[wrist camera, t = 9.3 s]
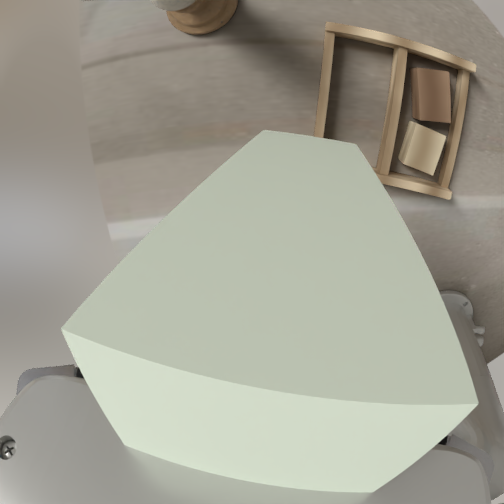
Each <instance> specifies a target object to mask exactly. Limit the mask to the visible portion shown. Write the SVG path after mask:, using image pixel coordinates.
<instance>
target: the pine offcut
mask: <svg viewBox="0 0 504 504" xmlns="http://www.w3.org/2000/svg"><path fill="white" fill-rule="evenodd" d="M445 139H446V136H444V135H442V134H440V133H438V132H436V131H433V130H431V129H429V128H427V127H424V126H422V125H420V124H417V123H415V122H412V121H410V120H409V124H408V127H407V130H406V134H405V137H404V140H403V143H402V147H401V150H400V153H399V156H398V159H399V160H400V161H401V162H402V163H403V164H405V165H407V166H410V167H413V168H415V169H418V170H420V171H423V172H425V173H428V174H430V175H433V174H434V172H435V169H436V166H437V163H438V160H439V157H440V154H441V151H442V148H443V145H444V142H445Z"/></svg>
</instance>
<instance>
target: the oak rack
mask: <svg viewBox="0 0 504 504" xmlns="http://www.w3.org/2000/svg"><path fill="white" fill-rule="evenodd" d="M335 36H337V37H343V38H349V39H354V40H359V41H364V42H368V43H373V44H377V45H381V46H385V47H389V48H393V49H394V51H393V61H392V70H391V79H390V87H389V95H388V102H387V109H386V115H385V121H384V128H383V133H382V139H381V145H380V150H379V155H378V161H377V166H376V168H374V167H372V169H373V170H374V172H375V173H376V175H377V177H378V178H379V180H380V181H381V183H382V184H386V185H391V186H395V187H399V188H404V189H408V190H412V191H417V192H421V193H425V194H429V195H433V196H437V197H441V198H444V199H448V200H450V199H451V195H452V192H451V191H450V190H449V189H448V186H449V182H450V178H451V175H452V171H453V167H454V163H455V158H456V154H457V149H458V145H459V140H460V135H461V130H462V125H463V119H464V113H465V107H466V100H467V93H468V85H469V77H470V72H476V64H474V63H471V62H469V61H467V60H464V59H462V58H460V57H457V56H454V55H452V54H449V53H447V52H444V51H441V50H439V49H436V48H433V47H430V46H427V45H424V44H421V43H418V42H414V41H411V40H408V39H404V38H401V37H397V36H394V35H390V34H386V33H382V32H378V31H373V30H369V29H364V28H360V27H355V26H349V25H344V24H338V23H332V22H326V27H325V38H324V49H323V59H322V69H321V79H320V88H319V97H318V106H317V114H316V122H315V130H314V137H319V138H323V135H324V128H325V120H326V112H327V104H328V96H329V87H330V78H331V69H332V59H333V49H334V38H335ZM407 53H411V54H414V55H417V56H421V57H424V58H427V59H430V60H433V61H436V62H439V63H441V64H444V65H447V66H450V67H452V68H455V69H457V70H458V74H457V83H456V91H455V98H454V104H453V111H452V117H451V123H450V128H449V133H448V138H447V143H446V148H445V152H444V157H443V161H442V166H441V170H440V174H439V178H438V182H433V181H429V180H425V179H422V178H418V177H414V176H410V175H405V174H401V173H397V172H393V171H389V169H390V164H391V159H392V154H393V149H394V144H395V138H396V133H397V127H398V121H399V115H400V109H401V102H402V95H403V88H404V80H405V71H406V62H407Z"/></svg>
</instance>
